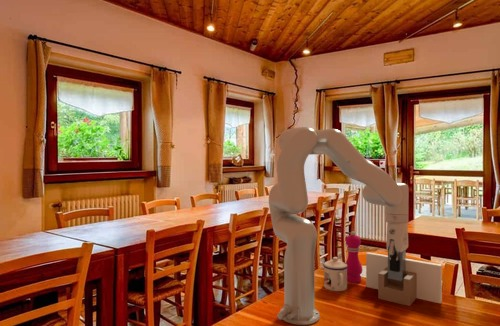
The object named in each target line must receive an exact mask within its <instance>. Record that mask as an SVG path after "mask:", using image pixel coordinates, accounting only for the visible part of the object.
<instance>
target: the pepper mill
mask: <svg viewBox="0 0 500 326" xmlns="http://www.w3.org/2000/svg"><path fill="white" fill-rule="evenodd" d="M361 243H362V241H361V238H360V236H358V235H356V232H355V231H354V230H353V231H350V234H349V235H348V236H347V237H346V238H345V244H346V251H347V258H346V261H345V263H346V264H347V266H348V268H347V283H348V282H349V283H353V284H354V283H360V282H362V275H361V274H362V273H363V266H362V263H361V261H360V259H359V252H360V248H361V247H360V246H361Z"/></svg>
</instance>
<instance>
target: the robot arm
mask: <svg viewBox="0 0 500 326" xmlns="http://www.w3.org/2000/svg"><path fill="white" fill-rule="evenodd" d="M277 144H278V148H279V149H280V152H279V154H278V157H277V160H276V161H277V162H276V174H277V177H276V178H277V182H276V183H275V184H273V186H272V187H271V188H270V191H269V193H268V205H269V213H270V214H269V215H270V219H271V224H272V229H273V233H274V234H275V236H276V238H278V239H279V240H281V241H282V242H284V243H286V248H285V251H284V257H283V270H284V271H283V273H284V275H283V276H284V277H283V278H284V281H283V282H284V284H283V285H284V286H283V287H284V288H283V289H284V292H283V293H284V298H283V299H284V304H283V307H282V308H280V310H279V312H278V313H277V315H276V316H277V317H276V318H278V320H280V321H282V320H283V321H284V322H285V323H289V324H291V325H299V326H305V325H306V326H307V325H311V324H314V323H316V322H318V321H319V320H320V318H321V316H320V311H318V309H316V308H315V295H316V294H315V291H316V290H315V287H316V286H315V257H316V256H315V255H316V254H315V252H316V246H317V240H318V232H317V228H316V227H315V224H314V223H313V222H312V221H311V220H309V219H307V218H305V217H302V216H299V214H302V213H303V212H305V211H306V210H307V208H308V205H309V197H308V190H307V184H306V183H307V182H306V177H305V176H306V175H305V164H306V160H307V159H308V157H309V155H326V157H328V159H330V160H331V162H333V164H334V165H336V166H337V167H338V169H339V170H340V171H341V173H343V175H345V176H347V177H348V178H349V179H352V180H354V181H357V182H358V183H362V184H364V187H363V189H362V191H361V192H362V193H361V195H362V198H363V199H364V201H366V202H367V203H369V204H371V205H376V206H384V207H385V210H384V211H385V222H386V223H387V224H386V225H387V226H386V250H387V252H388V251H389V255H390V271H395V272H399V271H400V261H399V253H401V252H403V251H404V250H407V249H408V248H409V230H408V229H409V228H408V224H409V197H410V196H409V190H410V189H409V185H408V184H407V183H404V182H396V181H395V180H394V178H393V177H392V176H391V175H390V174H389V173H387V172H386V171H385V170H384V169H382V168H381V167H380V166H378V165H376V164H374V162H372V161H370V160H369V159H367V158H365V157H364V156H363V154H362V153H361V152H360V151H359V150H358V149H357V148H356V147H355V146H354V144H353V143H352V142H351V141H350V140H349V139H348V137H346V135H345V134H344V133H343V132H342V131H341V130H339V129H336V128H326V129H315V130H314V129H313V128H311V127H308V126H300V127H296V128H295V127H294V128H288V129H286V130H283V131H282V132H281V133H280V135H279V136H278V140H277ZM394 249H395V250H396V251H394ZM394 253H396V254H394Z"/></svg>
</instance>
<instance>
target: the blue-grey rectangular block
mask: <svg viewBox="0 0 500 326" xmlns="http://www.w3.org/2000/svg"><path fill="white" fill-rule="evenodd" d="M406 250H407V249H406ZM406 250H404V251H403V252H401V253H399V261H400V271H399V272H395V271H390V255H389V251H388V250H387V255H388V278H389V279H393V280H398V281H403V278H405V277H406V259H407V257H406V256H407V255H406V254H407V253H406ZM394 251H396V250H395V249H394ZM394 254H396V253H394Z"/></svg>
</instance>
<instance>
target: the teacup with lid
mask: <svg viewBox="0 0 500 326" xmlns="http://www.w3.org/2000/svg"><path fill="white" fill-rule="evenodd" d="M347 268H348V266H347V264H346V262H344V261H341V259H339V258H338V257H337V256H334V257H332V259H330V260H328V261H327V260H326V261H325V262H324V263H323V286H324V288H325V289H326V290H329V291H331V292H343V291H346V290H347V289H348V281H347Z"/></svg>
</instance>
